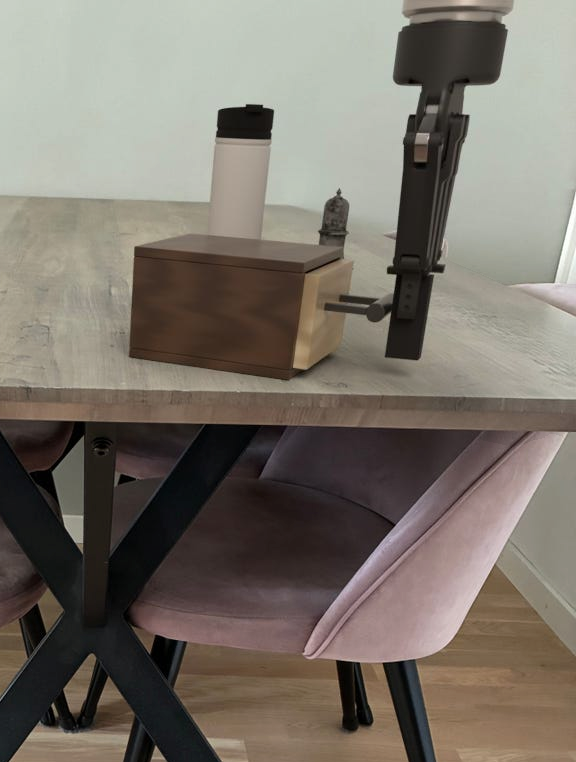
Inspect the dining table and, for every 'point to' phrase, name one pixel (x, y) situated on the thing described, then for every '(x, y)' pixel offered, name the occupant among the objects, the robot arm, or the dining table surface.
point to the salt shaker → (334, 222)
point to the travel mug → (240, 171)
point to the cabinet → (221, 302)
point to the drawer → (330, 311)
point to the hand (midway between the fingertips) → (402, 357)
